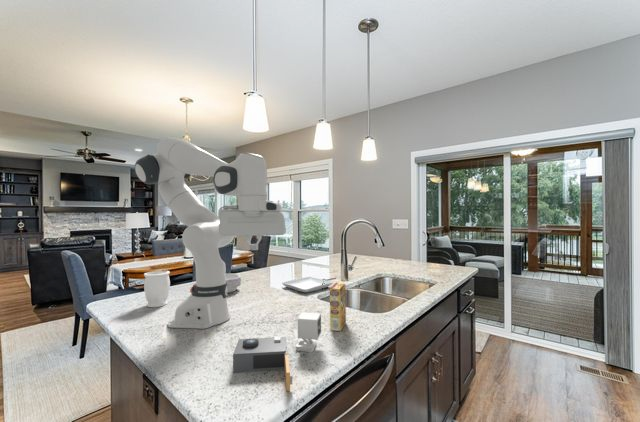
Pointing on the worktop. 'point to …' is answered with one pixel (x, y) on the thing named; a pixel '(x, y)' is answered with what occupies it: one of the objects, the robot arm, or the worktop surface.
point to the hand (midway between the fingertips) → (253, 250)
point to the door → (287, 373)
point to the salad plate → (307, 284)
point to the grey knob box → (259, 354)
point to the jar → (157, 288)
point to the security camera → (308, 331)
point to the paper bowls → (232, 282)
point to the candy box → (337, 307)
